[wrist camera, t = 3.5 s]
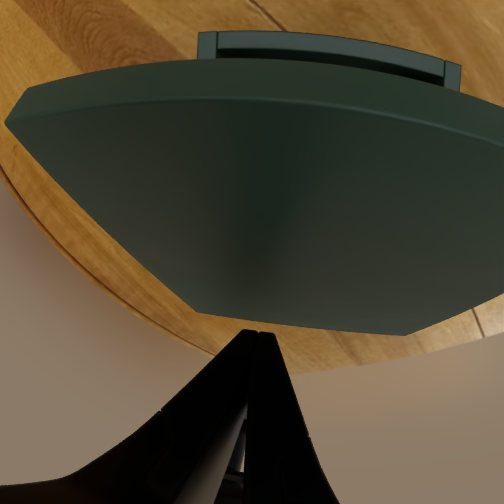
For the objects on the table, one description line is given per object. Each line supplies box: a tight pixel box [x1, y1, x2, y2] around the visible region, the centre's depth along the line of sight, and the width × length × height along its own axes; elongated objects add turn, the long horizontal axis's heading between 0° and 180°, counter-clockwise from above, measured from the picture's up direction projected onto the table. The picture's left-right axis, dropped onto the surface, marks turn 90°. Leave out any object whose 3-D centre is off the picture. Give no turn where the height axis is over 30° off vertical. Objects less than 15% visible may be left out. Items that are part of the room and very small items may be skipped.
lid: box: [4, 58, 504, 336], centre depth 9 cm, size 13×11×1 cm
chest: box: [197, 31, 461, 92], centre depth 16 cm, size 13×11×7 cm
